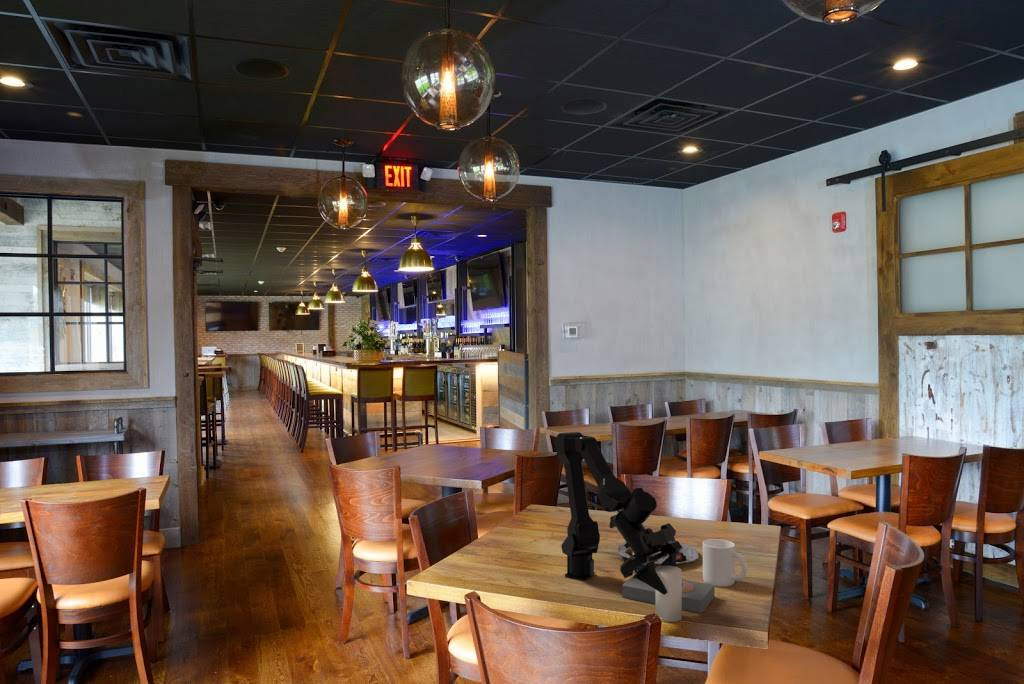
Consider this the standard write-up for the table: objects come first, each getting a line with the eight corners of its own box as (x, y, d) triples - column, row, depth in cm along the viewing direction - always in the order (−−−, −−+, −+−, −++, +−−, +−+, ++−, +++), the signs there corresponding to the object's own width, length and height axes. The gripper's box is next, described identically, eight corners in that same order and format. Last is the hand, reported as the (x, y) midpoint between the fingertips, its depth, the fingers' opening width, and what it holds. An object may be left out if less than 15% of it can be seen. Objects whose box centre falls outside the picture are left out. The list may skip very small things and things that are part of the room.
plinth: (622, 597, 170) (621, 584, 170) (638, 582, 181) (638, 570, 181) (701, 613, 160) (701, 599, 160) (714, 596, 170) (714, 584, 170)
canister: (651, 618, 157) (651, 571, 157) (660, 609, 162) (660, 563, 162) (677, 624, 154) (677, 575, 154) (685, 615, 159) (684, 568, 159)
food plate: (701, 572, 188) (700, 560, 188) (616, 568, 193) (616, 556, 193) (695, 548, 213) (695, 537, 213) (620, 545, 217) (620, 534, 217)
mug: (754, 585, 178) (753, 546, 178) (739, 593, 173) (739, 553, 173) (712, 574, 187) (712, 537, 187) (697, 581, 181) (696, 543, 181)
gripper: (630, 521, 154) (672, 581, 146) (675, 507, 167) (716, 562, 159) (603, 548, 160) (642, 607, 152) (649, 532, 173) (687, 586, 165)
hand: (673, 590), depth 157 cm, fingers closed on canister, 6 cm apart
